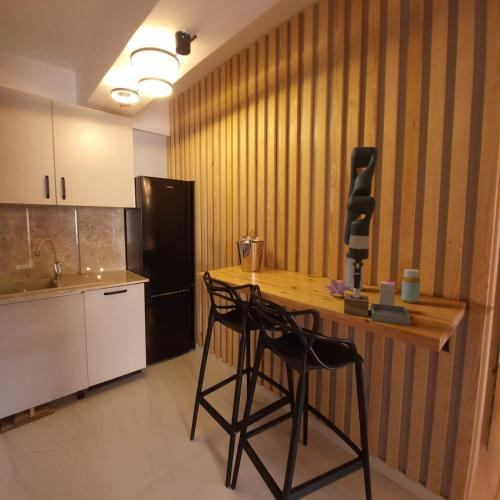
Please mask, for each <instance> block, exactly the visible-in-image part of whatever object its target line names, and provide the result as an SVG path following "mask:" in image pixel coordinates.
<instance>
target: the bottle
mask: <svg viewBox="0 0 500 500" xmlns="http://www.w3.org/2000/svg"><path fill="white" fill-rule="evenodd" d="M420 274H421V271H420V269H415V268H405V269H404V271H403V277H402V285H401V295H400V296H401V298H400V299H401V301H402V302H403V303H405V304H412V305H413V304H414V305H415V304H418V303H419V302H420V301H419V300H420V290H421V289H420V287H421V279H420Z"/></svg>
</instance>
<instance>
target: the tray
mask: <svg viewBox="0 0 500 500" xmlns="http://www.w3.org/2000/svg"><path fill="white" fill-rule="evenodd" d="M370 317H371V318H370V319H371V321H373V322H381V323H387V324H394V325H404V326H411V316H410V314H409V312H408V310H407V308H406V306H403V305H385V304H379V303H375V302H371V303H370Z"/></svg>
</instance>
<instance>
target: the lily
mask: <svg viewBox="0 0 500 500" xmlns="http://www.w3.org/2000/svg"><path fill="white" fill-rule="evenodd" d="M345 284H346V281H345V280H344V281H340V282H339V281H338V280H336V279H334V278H333V277H330V285H326V286H324V289H328V290H329V295H330V296H332V295H337V300H339V295H340V296H341V297H343V298H345V292H346V291H352V289H353V288H351V287H349V286H345Z"/></svg>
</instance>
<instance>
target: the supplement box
mask: <svg viewBox="0 0 500 500" xmlns="http://www.w3.org/2000/svg"><path fill="white" fill-rule="evenodd" d="M396 283H397V282H396V281H389V280H381V281H380V285H379V294H378V295H379V297H378V304H385V305H394V304H395V294H396ZM394 306H395V305H394Z"/></svg>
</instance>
